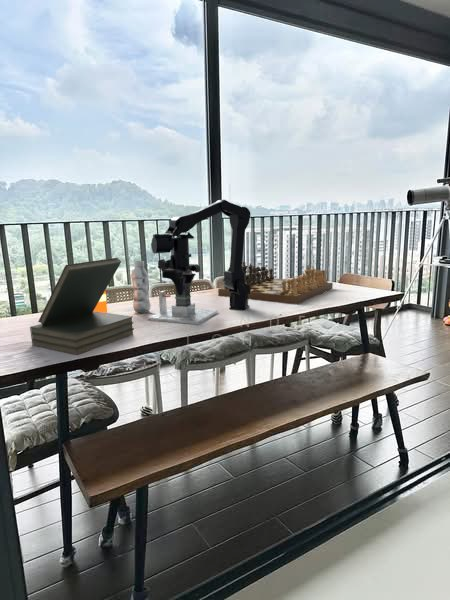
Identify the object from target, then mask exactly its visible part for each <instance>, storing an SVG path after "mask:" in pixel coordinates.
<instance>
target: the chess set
mask: <svg viewBox="0 0 450 600" xmlns="http://www.w3.org/2000/svg"><path fill="white" fill-rule="evenodd" d="M246 263H247V262H246V261H242V269H243V272H244V275H245V283H246V284H247V285H248V286H249V287H250V288H251V291H250V294H248V300H254V301H255V300H256V301H264V302H273V303H280V304H282V303H283V304H291V305H299V303H300V304H301V303H304V302H306V301H308V299H309V300H311V299H313V298H315V296H316V297H318V296H320V295H323V294H325V293H327V292H329V291H331V289H332V290H333V282H330V281H328V279H327V274H328V271H327V270H324V269H323V270H321V269H319V270H318V269H315V267H314V266H312V267H311V266H310V264H307V265H306V269H304V273H302V274H300V275H298V276H297V277H291V278H288V279H287V278H286V279H285V278H277V277H276V278H275V276H274V275H273V274H274V269H273V268H269V270H268V269H267V266H259V265H258V266H257V267H256V265H252V263H249V264H248V265H246ZM310 267H311V268H310ZM247 269H248V270H247ZM217 289H218V290H217V291H218V296H219V297H228V298H230V296H231V293H232V292H229V290H228V288H227V287H226V286H225V285H224V287H219V288H217ZM326 291H327V292H326ZM324 292H325V293H324ZM319 294H320V295H319ZM317 295H318V296H317ZM310 298H311V299H310Z"/></svg>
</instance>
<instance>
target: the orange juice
mask: <svg viewBox="0 0 450 600" xmlns="http://www.w3.org/2000/svg"><path fill="white" fill-rule="evenodd" d="M107 303H108V302H107V292H106V290H105V292H104V293H103V295H102V297H101V299H100V300H99V302H98V304H97V306H96V307H95V309H94V311H96V312H104V313H108V306H107Z"/></svg>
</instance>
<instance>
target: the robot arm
mask: <svg viewBox="0 0 450 600" xmlns="http://www.w3.org/2000/svg"><path fill="white" fill-rule="evenodd" d="M220 213H222V214H223V215H225V216H226V217H228V218H229V223H230V227H231V230H232V231H231V232H232V233H231V247H230V257H229V258H230V260H229V267H228V269H227V270H224V271H223V278H222V281H223V282H224V286H226V287H227V288H228V290H229V292H232V293H231V296H230V297H229V310H237V311H238V310H240V311H243V310H244V311H245V310H247V309H248V308H250V305H249V299H248V294H250V291H251V288H250V287H249V286H248V285H247V284H246V283H245V275H244V272H243V269H242V266H243V262H244V261H243V260H244V259H243V258H244V245H245V235H246V234H245V233H246V229H247V228H248V226H249V224H250V221H251V219H250V218H251V210H249V208H248V207H247V206H240V205H238V204H235V203H232V202H230V201H228V200H227V199H219V200H216V201H215V202H213V203H211V204H208V205H206V206H204V207H202V208H199V209H197V210H195V211H193V212H190V213H186V214H182V215H176V216H174V217H172V218H170V222H169V227H167V228H166V229H167V230H166V231H165V232H164V233H161V234H160V233H153V234H152V239H151V243H150V248H151V251H152V253H153V254H168V253H171V251H172V253H173V254H171V255H170V259H168V260H165V259H163V258H162V259H160V260H158V261H157V268H158V269H159V270H161V277H162V279H169V280H170V281H172V283H173V284H174V288H175V287H176V289H177V292H178V295H182V292H183V288H184V283H190V286H191V284H192V283H193V280H194V278H195V276H196V275H197V274H196V273H199V272H201V267H200V265H199V264H197V263H196V264H195V263H190V258H192V253H190V249H189V248H190V246H189V244H190V243H189V240H190V239H191V240H192V239H193V240H194V239H195V236H194V235H192V233H191V232H190V230H191V229H193V228H194V227H195V226H196V225H197V224H198V223H200V222H202V221H204V220H207V219H209V218H211V217H213V216H216V215H217V214H220ZM193 272H195V273H193Z"/></svg>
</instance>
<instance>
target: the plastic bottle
mask: <svg viewBox="0 0 450 600" xmlns="http://www.w3.org/2000/svg"><path fill="white" fill-rule="evenodd" d="M133 267H134V269H133V270H132V272H131V274H130V275H131V276H130V277H131V284H132V286H133V287H132V288H133V305H132V306H133V307H132V308H133V311H135V312H136V313H141V314H144V313H147V312H150V311H151V306H152V305H151V301H150V297H149V289H148V288H149V285H148V284H149V273H148V271H147V270H146V269H145V262H144V260H136V261H133Z"/></svg>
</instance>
